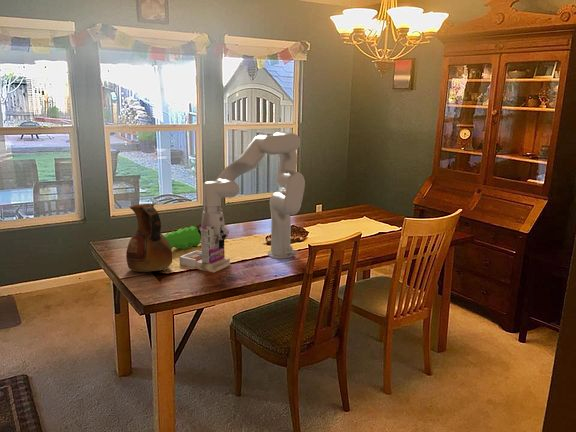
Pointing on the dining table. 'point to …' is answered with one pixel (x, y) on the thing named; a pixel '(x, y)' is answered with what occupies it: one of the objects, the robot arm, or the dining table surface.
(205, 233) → the candy bar box
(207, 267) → the board
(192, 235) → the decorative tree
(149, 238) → the ceramic pitcher
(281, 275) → the dining table surface
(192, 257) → the tile
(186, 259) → the tray
